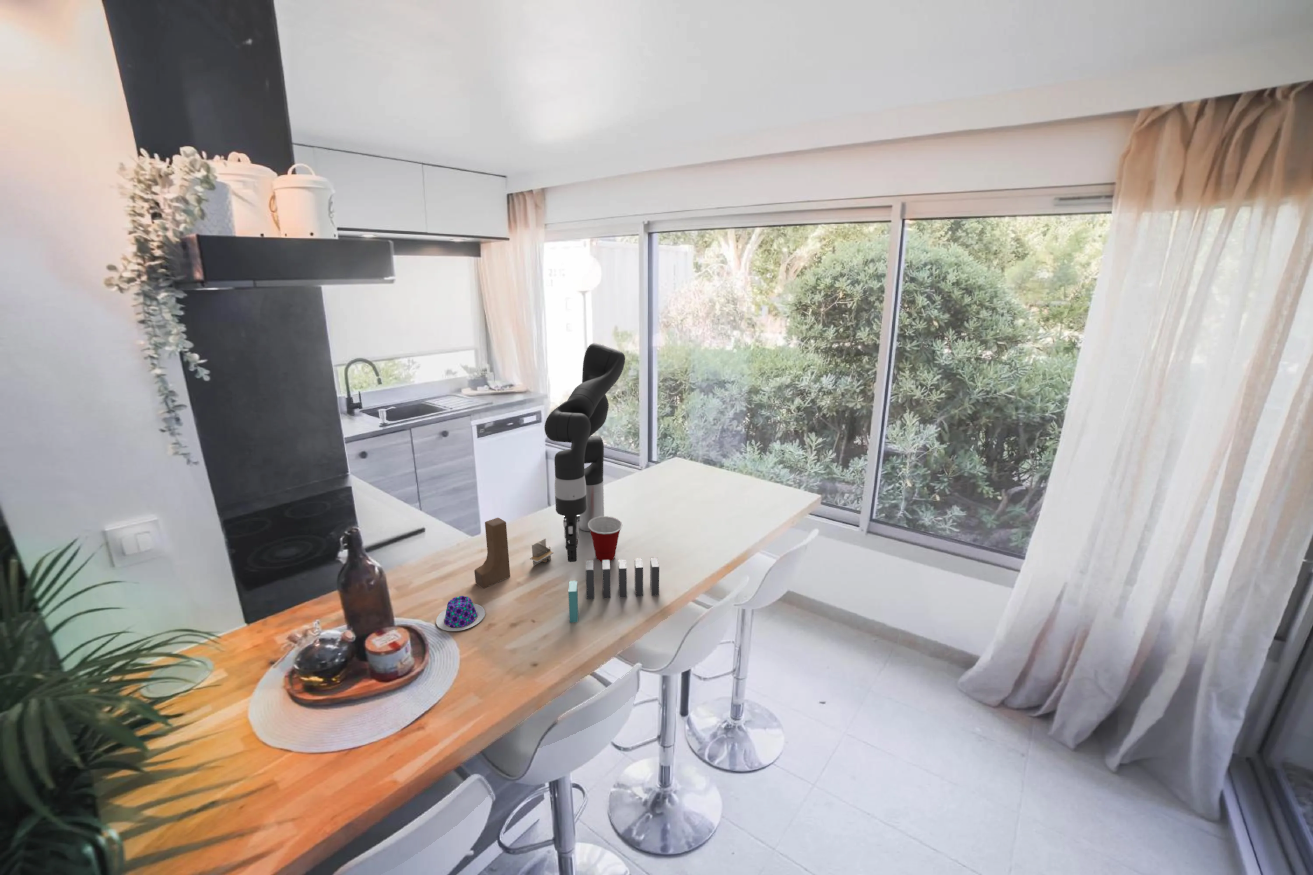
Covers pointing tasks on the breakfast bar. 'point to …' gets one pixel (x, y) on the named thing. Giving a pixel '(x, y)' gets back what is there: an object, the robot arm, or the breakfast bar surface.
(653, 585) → the domino
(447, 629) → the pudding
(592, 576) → the domino
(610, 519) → the plastic cup
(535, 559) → the architectural model
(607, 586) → the domino
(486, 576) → the wooden block
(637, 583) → the domino
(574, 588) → the domino
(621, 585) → the domino
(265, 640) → the breakfast bar surface
